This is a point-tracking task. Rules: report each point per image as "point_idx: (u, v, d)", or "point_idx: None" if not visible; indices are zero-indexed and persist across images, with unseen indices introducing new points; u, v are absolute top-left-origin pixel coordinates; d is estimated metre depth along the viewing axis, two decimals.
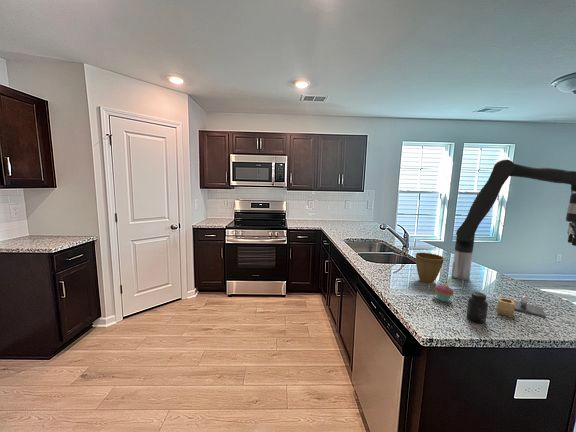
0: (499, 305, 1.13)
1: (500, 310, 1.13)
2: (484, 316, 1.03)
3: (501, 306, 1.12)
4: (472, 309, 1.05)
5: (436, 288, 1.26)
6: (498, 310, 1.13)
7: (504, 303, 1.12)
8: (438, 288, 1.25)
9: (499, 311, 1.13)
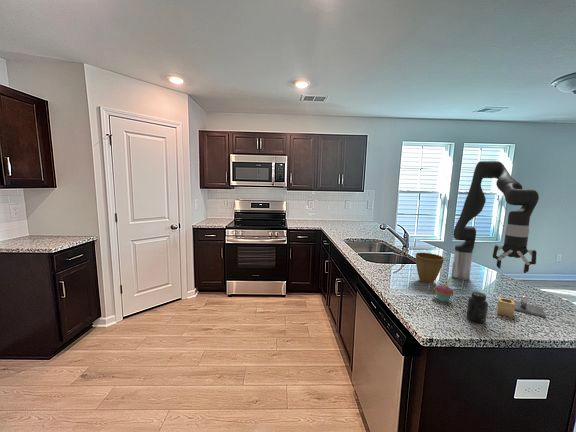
0: (499, 305, 1.13)
1: (500, 310, 1.13)
2: (484, 316, 1.03)
3: (501, 306, 1.12)
4: (472, 309, 1.05)
5: (436, 288, 1.26)
6: (498, 310, 1.13)
7: (504, 303, 1.12)
8: (438, 288, 1.25)
9: (499, 311, 1.13)
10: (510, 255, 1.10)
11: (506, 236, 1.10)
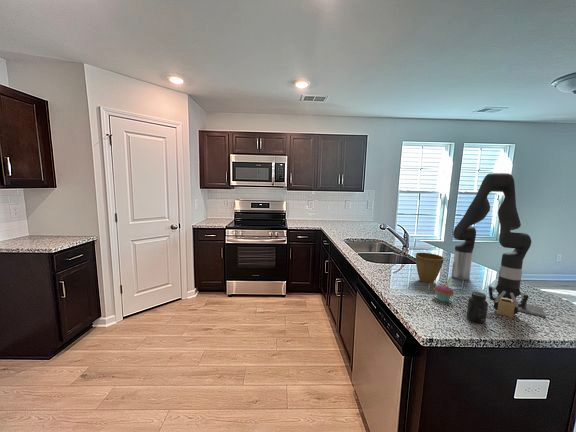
0: (499, 305, 1.13)
1: (500, 310, 1.13)
2: (484, 316, 1.03)
3: (501, 306, 1.12)
4: (472, 309, 1.05)
5: (436, 288, 1.26)
6: (498, 310, 1.13)
7: (504, 303, 1.12)
8: (438, 288, 1.25)
9: (499, 311, 1.13)
10: (503, 296, 1.13)
11: (500, 277, 1.13)
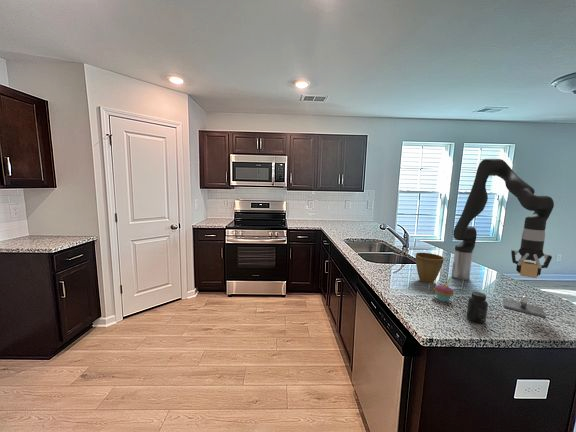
0: (522, 267, 1.16)
1: (523, 272, 1.16)
2: (484, 316, 1.03)
3: (524, 268, 1.15)
4: (472, 309, 1.05)
5: (436, 288, 1.26)
6: (521, 272, 1.16)
7: (527, 265, 1.15)
8: (438, 288, 1.25)
9: (522, 273, 1.16)
10: (526, 258, 1.16)
11: (523, 240, 1.16)
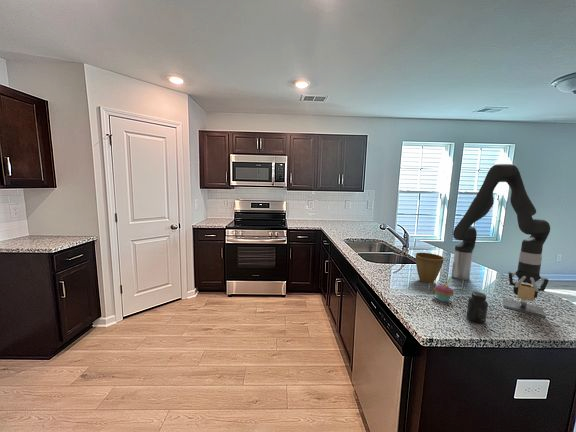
0: (519, 290, 1.17)
1: (520, 294, 1.17)
2: (484, 316, 1.03)
3: (521, 290, 1.17)
4: (472, 309, 1.05)
5: (436, 288, 1.26)
6: (518, 294, 1.17)
7: (524, 287, 1.16)
8: (438, 288, 1.25)
9: (519, 295, 1.17)
10: (523, 281, 1.17)
11: (520, 263, 1.17)
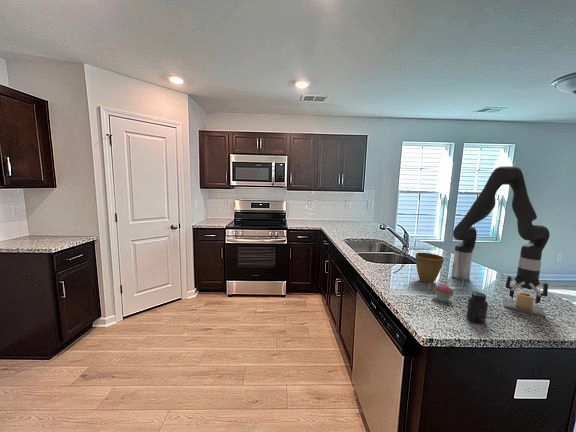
0: (518, 299, 1.18)
1: (519, 303, 1.18)
2: (484, 316, 1.03)
3: (520, 300, 1.17)
4: (472, 309, 1.05)
5: (436, 288, 1.26)
6: (517, 303, 1.18)
7: (523, 297, 1.16)
8: (438, 288, 1.25)
9: (518, 304, 1.18)
10: (523, 286, 1.17)
11: (519, 268, 1.17)
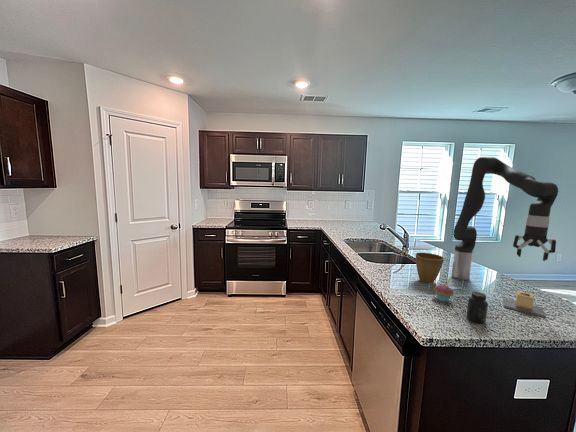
0: (518, 299, 1.18)
1: (519, 303, 1.18)
2: (484, 316, 1.03)
3: (520, 300, 1.17)
4: (472, 309, 1.05)
5: (436, 288, 1.26)
6: (517, 303, 1.18)
7: (523, 297, 1.16)
8: (438, 288, 1.25)
9: (518, 304, 1.18)
10: (530, 244, 1.18)
11: (527, 226, 1.18)
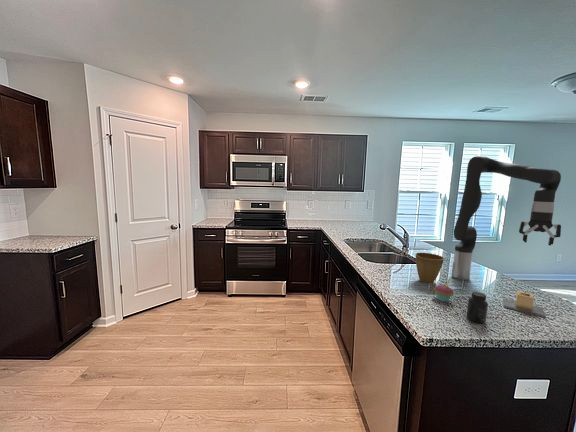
0: (518, 299, 1.18)
1: (519, 303, 1.18)
2: (484, 316, 1.03)
3: (520, 300, 1.17)
4: (472, 309, 1.05)
5: (436, 288, 1.26)
6: (517, 303, 1.18)
7: (523, 297, 1.16)
8: (438, 288, 1.25)
9: (518, 304, 1.18)
10: (536, 230, 1.22)
11: (532, 212, 1.22)
